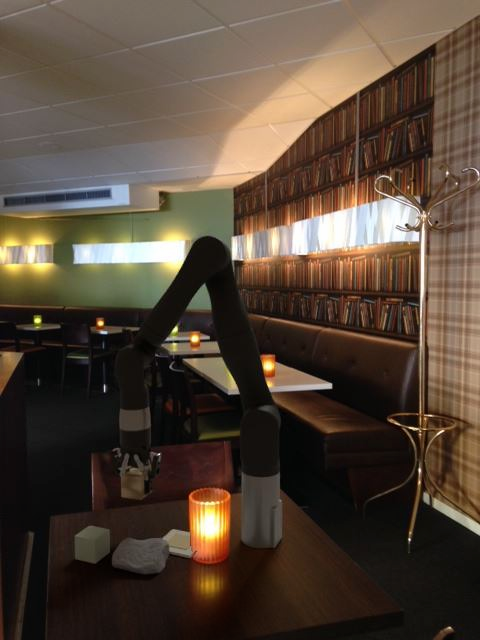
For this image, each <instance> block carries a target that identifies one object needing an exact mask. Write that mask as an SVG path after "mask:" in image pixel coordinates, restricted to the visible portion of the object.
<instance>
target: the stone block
mask: <svg viewBox="0 0 480 640" xmlns="http://www.w3.org/2000/svg"><path fill="white" fill-rule="evenodd" d="M169 556H170V554H169V543H168V542H167V541H166V540H163V539H162V538H161V537H156V538H155V537H154V538H146V539H143V540H140V539H134V538H133V537H126V538H124V539H123V540H122V541H121V542H119V544H118V546H117V547H116V548H115V550H114V552H113V553H112V556H111V557H112V558H111V565H112V567H113V568H115V569H121V570H124V571H128V572H131V573H136V574H141V575H152V574H158V573H162V571H163V570H164V569H165V567H166V562H167V560H168V558H169Z"/></svg>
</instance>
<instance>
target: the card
mask: <svg viewBox="0 0 480 640" xmlns="http://www.w3.org/2000/svg"><path fill="white" fill-rule="evenodd" d="M190 533H191V532H189V531H183V530H180V529H173V528H172V529H171V530H170V531H169V532H168V533H166V535H164V536H163V537H162V538H161V539H163V540H166V541H167V542H168V543H169V555H173V556H177V557H178V556H179V557H182V558H183V557H184V558H187V559H191V558H192V557H193V556H194V555H195V554H194V553H193V552H192V551H191V546H190Z"/></svg>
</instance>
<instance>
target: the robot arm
mask: <svg viewBox="0 0 480 640" xmlns="http://www.w3.org/2000/svg"><path fill="white" fill-rule="evenodd" d="M203 285H205V288H206V291H207V294H208V296H209V301H210V308H211V309H210V310H211V318H212V325H213V326H212V327H213V332H214V337H215V340H216V343H217V346H218V350H219V352H220V356H221V359H222V362H223V363H224V366H225V367H226V368H227V371H228V373H229V374H230V376H231V377H232V379H233V381H234V383H235V385H236V387H237V390H238V394H239V397H240V400H241V405H242V410H243V415H242V418H241V420H240V425H239V451H240V453H239V455H240V456H239V457H240V462H241V532H240V533H241V541H242V543H243V544H244V545H246V546H247V547H251V548H256V549H269V548H271V549H275V548H277V545H278V544H279V543H280V541H281V539H282V538H283V500H282V499H280V497H281V493H280V491H281V489H280V488H281V484H280V482H281V481H280V480H281V479H280V478H281V473H280V472H281V469H280V468H281V460H280V429H281V424H282V422H281V421H282V419H281V414H280V412H279V409H278V407H277V405H276V402H275V399H274V398H273V396H272V393H271V391H270V388H269V385H268V382H267V380H266V375H265V372H264V371H265V370H264V368H263V367H264V366H263V362H262V358H261V357H262V356H261V353H260V349H259V345H258V341H257V337H256V335H255V331H254V328H253V325H252V323H251V320H250V317H249V315H248V311H247V309H246V306H245V304H244V301H243V299H242V297H241V295H240V291H239V289H238V286H237V280H236V276H235V272H234V266H233V260H232V254H231V251H230V248H229V246H228V245H227V244H226V242H225V241H224V240H222V239H221V238H219V237H217V236H215V235H211V234H210V235H204V236H201V237H199V238H197V239H196V240H195V241H194V242H193V243H192V245H191V246H190V249H189V251H188V253H187V254H186V256H185V258H184V260H183V263H182V264H181V266H180V268H179V269H178V272H177V274H176V275H175V277H174V278H173V280H172V282H171V283H170V285H169V286H168V288H167V289H166V290H165V292H164V293H163V294H162V296H161V297H160V298H159V300H158V301H157V302H156V304H155V305H154V306H153V307H152V309H151V311H150V312H149V313H148V314H147V315H146V317H145V318H144V320H143V321H142V322H141V325H140V326H139V328H138V333H137V334H136V335H135V337H134V338H133V340H132V341H131V342H130V344H128V345H127V346H124V347H122V348H121V349H120V350H119V351H118V352H117V354H116V357H115V361H114V362H115V364H114V366H115V367H114V368H115V375H116V380H117V383H118V385H117V386H118V387H119V416H118V417H119V444H120V448H119V447H116V448H113V449H112V450H110V451H109V454H110V460H111V465H112V469H113V473H114V474H116V475H119V476H120V477H121V475H122V474H124V473H126V472H127V471H129V470H130V469H132V468H133V467H135V468H139V470H140V472H142V474H143V476H144V479H145V480H144V494H145V495H147V496H148V494H149V493H150V494H152V492H151V491H153V490H154V487H153V486H154V485H153V483H154V482H153V479H155V478H157V477H159V476H160V474H161V473H160V472H161V467H162V461H163V453H162V452H158V453H156V452H154V451H153V450H152V447H151V443H152V432H151V431H152V427H151V426H152V424H151V423H152V422H151V410H150V393H149V386H148V385H147V384H146V383H145V374H144V373H145V369H147V368H148V366H149V365H150V364H151V363H152V361H153V360H154V358H155V357H156V355H157V353H158V351H159V350H160V348H161V346H162V345H163V344H164V343H165V342H166V340H167V339H168V338H169V336H170V335H171V333H172V332H174V330H175V328H176V327H177V325H178V324H179V323H180V321H181V319H182V318H183V316H184V314H185V312H186V310H187V308H188V306H189V305H190V303H191V301H192V299H193V298H194V297H195V295H196V294H197V293H198V291H199V290H200V289H201V288H202V287H203ZM122 458H123V460H122ZM150 459H151V460H150ZM150 494H149V495H150Z"/></svg>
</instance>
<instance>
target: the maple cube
mask: <svg viewBox="0 0 480 640" xmlns="http://www.w3.org/2000/svg"><path fill="white" fill-rule="evenodd" d="M144 480H145V479H144V476H143V474H142V472H140V470H139V467H131V469H130V470H129V471H127V472H126V473H124V474H122V475H121V476H120V489H121V490H120V493H121V498H125V499H131V500H139V501H142V500H143V499H144V498H146V497H147V496H148V495H150V494H151V493H153V490H152V491H151V493H149V494H148V495H145V494H144Z"/></svg>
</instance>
